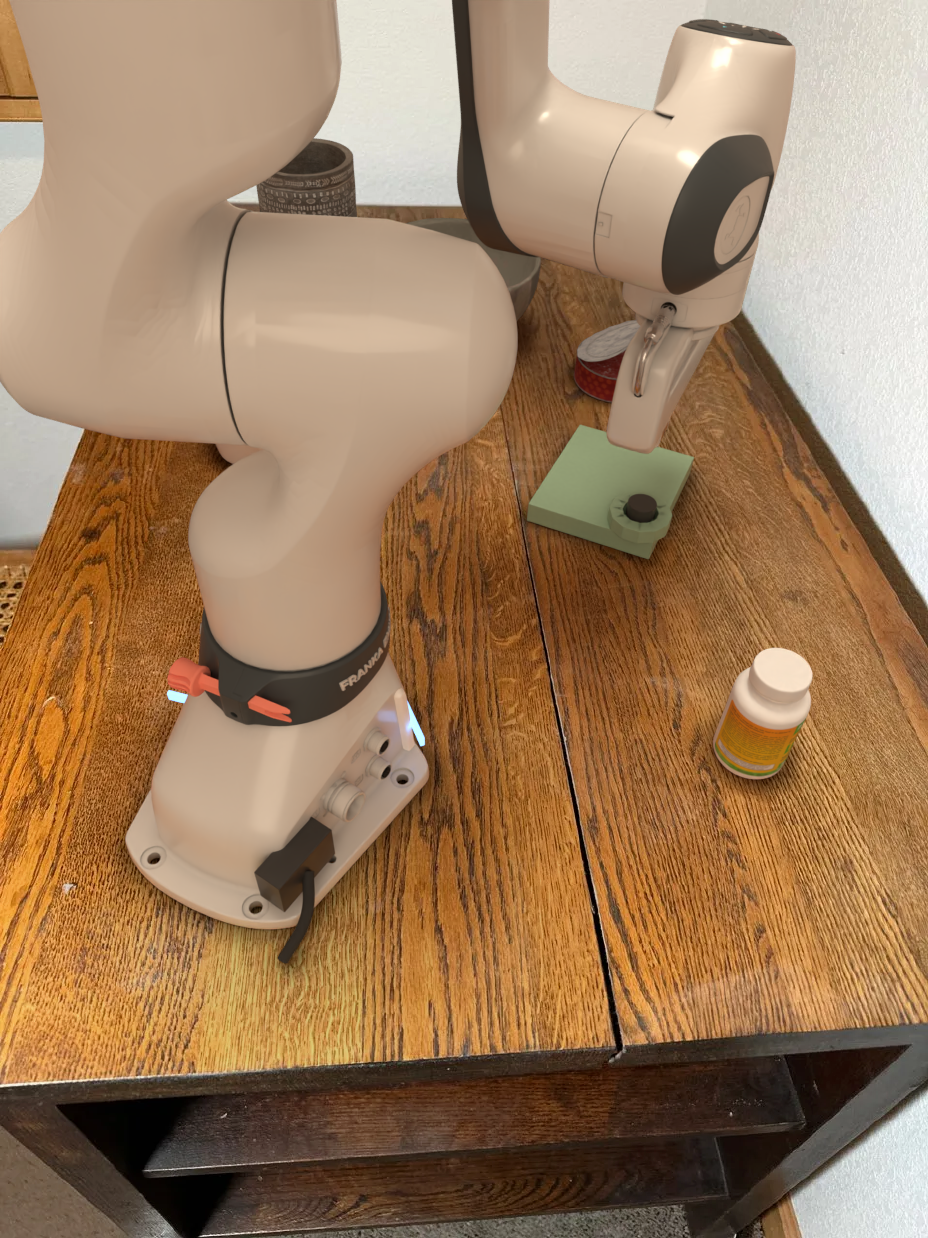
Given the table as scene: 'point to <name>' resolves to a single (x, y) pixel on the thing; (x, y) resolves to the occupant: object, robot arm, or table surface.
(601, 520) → the scale
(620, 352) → the canned food
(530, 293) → the bowl
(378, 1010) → the table surface
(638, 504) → the button
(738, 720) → the supplement bottle
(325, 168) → the planter
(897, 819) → the table surface
